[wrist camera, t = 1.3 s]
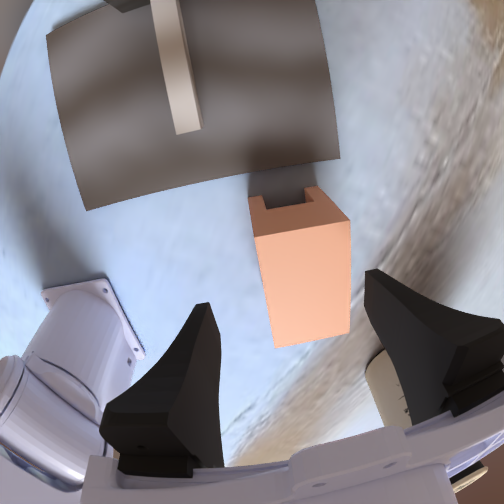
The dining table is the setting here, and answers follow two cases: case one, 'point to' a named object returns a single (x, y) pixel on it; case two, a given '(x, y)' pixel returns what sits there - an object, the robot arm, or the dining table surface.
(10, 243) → the dining table surface
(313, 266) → the slotted block
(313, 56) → the rail board
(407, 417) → the travel mug
